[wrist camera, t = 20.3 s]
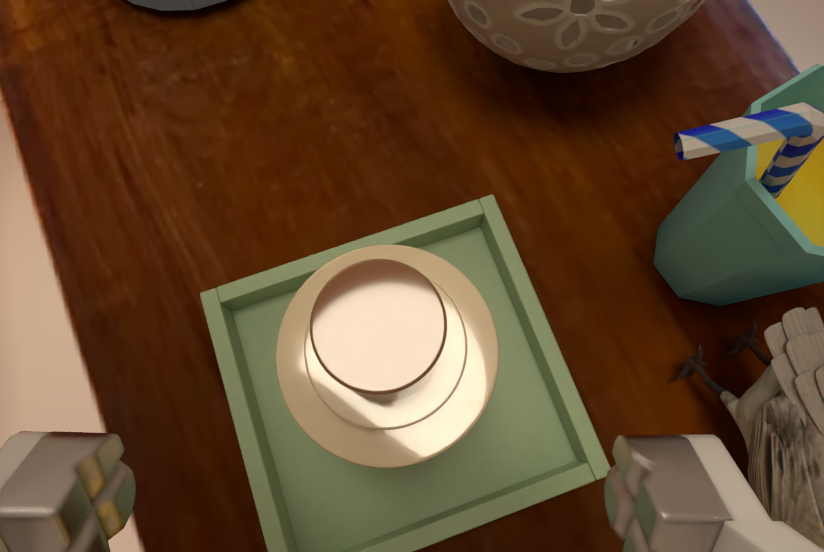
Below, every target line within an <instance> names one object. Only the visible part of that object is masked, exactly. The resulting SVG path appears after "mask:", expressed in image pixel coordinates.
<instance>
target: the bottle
mask: <svg viewBox="0 0 824 552" xmlns="http://www.w3.org/2000/svg"><path fill="white" fill-rule="evenodd" d="M498 367H499V341H498V336H497V331H496V326H495V323H494V320H493V317H492V314H491V312H490V310H489V307H488V305H487V303H486V301H485V299H484V298H483V296H482V295H481V293H480V292H479V290H478V289H477V288H476V286H475V285H474V284H473V283H472V282H471V280H470V279H469V278H468V277H467V276H466V275H465V274H463V273H462V272H461V271H460V270H459V269H458V268H457V267H455V266H454V265H452V264H451V263H449V262H448V261H447V260H445V259H443V258H441V257H439V256H437V255H435V254H433V253H430V252H427V251H425V250H422V249H418V248H414V247H410V246H403V245H375V246H368V247H363V248H360V249H356V250H352V251H350V252H348V253H345V254H343V255H340V256H338V257H337V258H335V259H333V260H331V261H329V262H328V263H326V264H325V265H324V266H322V267H321V268H320V269H318V270H317V271H316V272H315V273H314V274H312V275H311V276H310V277H309V278H308V279H307V280H306V281H305V282H304V284H303V285H302V286H301V287H300V289H299V290H298V291H297V292H296V294H295V296H294V297H293V299H292V300H291V302H290V304H289V306H288V308H287V310H286V312H285V314H284V316H283V319H282V323H281V326H280V329H279V333H278V339H277V344H276V370H277V377H278V382H279V386H280V390H281V393H282V395H283V398H284V401H285V403H286V405H287V407H288V409H289V411H290V413H291V415H292V416H293V418H294V419H295V421H296V422H297V423H298V425H299V426H300V428H301V429H302V430H303V431H304V432H305V433H306V434H307V435H308V436H309V437H310V438H311V439H312V440H313V441H314V442H315V443H317V444H318V445H319V446H320V447H322V448H323V449H325V450H326V451H328V452H330V453H331V454H333V455H335V456H337V457H339V458H341V459H344V460H346V461H348V462H351V463H355V464H359V465H362V466H368V467H376V468H398V467H404V466H410V465H414V464H417V463H421V462H424V461H427V460H429V459H431V458H433V457H436V456H438V455H440V454H441V453H443V452H445V451H446V450H448V449H449V448H451V447H453V446H454V445H455V444H456V443H457V442H459V441H460V440H461V439H462V438H463V437H464V436H465V435H466V434H467V433H468V432H469V431H470V430H471V429H472V428H473V427H474V425H475V424H476V423H477V421H478V420H479V418H480V417H481V415H482V414H483V413H484V411H485V409H486V407H487V405H488V403H489V401H490V399H491V396H492V393H493V390H494V387H495V384H496V379H497V374H498Z"/></svg>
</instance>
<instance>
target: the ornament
mask: <svg viewBox="0 0 824 552" xmlns="http://www.w3.org/2000/svg"><path fill="white" fill-rule="evenodd" d="M447 1H448V2H449V4H450V6H451V7H452V9H453V11H454V13H455V14H456V16H457V17H458V19H459V20H460V21H461V23H462V24H463V25H464V27H465V28H466V29H468V30H469V31H470V32H471V33H472V34H473V35H474V36H475V35H476V36H477V37H476V36H475V37H476V38H477V39H478V40H479V41H480V42H481V43H482V44H483V45H485V46H486V47H487V48H489V49H490V50H491V51H493V52H495V53H496V54H498V55H500V56H502V57H504V58H506V59H508V60H510V61H512V62H514V63H515V64H518V65H522V66H525V67H529V68H533V69H536V70H541V71H549V72H557V73H570V72H584V71H588V70H593V69H598V68H602V67H605V66H608V65H610V64H613V63H616V62H619V61H624V60H626V59H628V58H631V57H633V56H635V55H637V54H639V53H641V52H642V51H643V50H645V49H647V48H649V47H651V46H653V45H655V44H657V43H658V42H659V41H660V40H662V39H663V38H664V37H665V36H667V35H668V34H669V33H670V32H672V31H673V30H675V29H676V28H677V27H678V26H679V25H681V24H682V23H683V22H684V21H686V20H687V19H688V18H689V17H690V16H691V15H692V14H693V13H694V12H695V11H696V10H697V9H698V8H699V7H700V5H701V4H702V3H704V2H705V1H707V0H702V1H701V2H700V3H699V4H698V5H697V6H696V7H695V8H694V9H691V6H692V4H693V3H695V2H696V1H697V0H447ZM690 9H691V10H690ZM636 40H637V43H636V44H635V45H634V46H633V44H634V42H635V41H636ZM604 64H605V65H604Z"/></svg>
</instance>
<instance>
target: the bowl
mask: <svg viewBox="0 0 824 552" xmlns="http://www.w3.org/2000/svg"><path fill="white" fill-rule="evenodd" d="M128 1H129V2H131V3H133V4H136V5H140V6H144V7H148V8H152V9H156V10H160V11H175V10H196V9H201V8H204V7H207V6H211V5H214V4H218V3H221V2H224V1H227V0H128Z"/></svg>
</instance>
